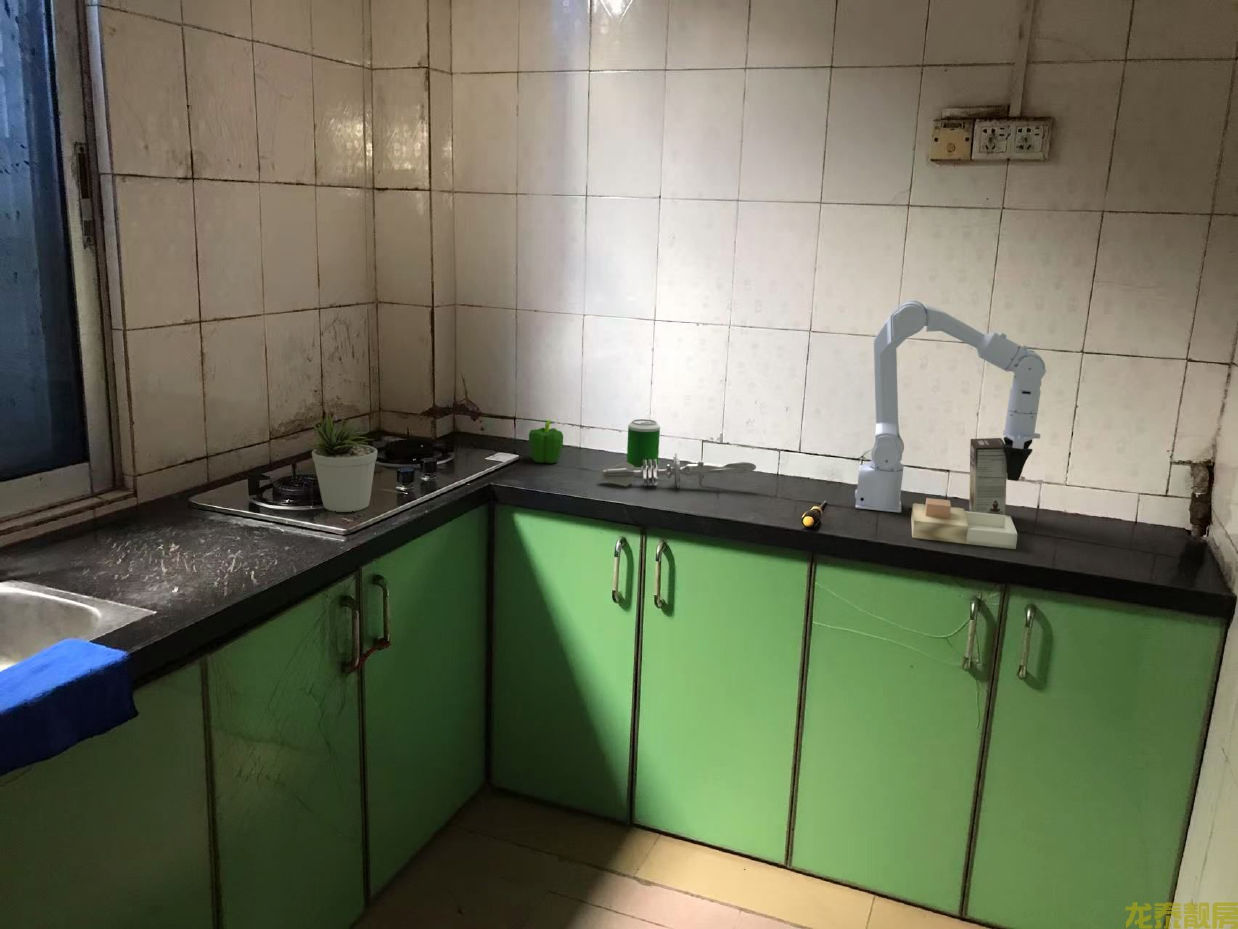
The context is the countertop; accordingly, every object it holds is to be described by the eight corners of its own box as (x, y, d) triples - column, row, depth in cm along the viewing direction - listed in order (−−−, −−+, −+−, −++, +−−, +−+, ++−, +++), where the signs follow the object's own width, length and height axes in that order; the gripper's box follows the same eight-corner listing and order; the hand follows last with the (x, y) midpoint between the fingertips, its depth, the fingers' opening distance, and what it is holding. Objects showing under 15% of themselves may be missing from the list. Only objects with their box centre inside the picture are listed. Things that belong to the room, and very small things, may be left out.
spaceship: (757, 462, 215) (754, 442, 221) (598, 471, 217) (599, 450, 223) (757, 491, 219) (754, 470, 226) (601, 499, 222) (602, 478, 228)
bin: (966, 543, 190) (967, 528, 189) (961, 524, 202) (963, 510, 201) (1015, 549, 188) (1017, 534, 187) (1008, 529, 200) (1010, 515, 199)
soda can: (658, 475, 233) (660, 425, 230) (626, 473, 233) (628, 424, 230) (657, 467, 240) (659, 419, 237) (626, 466, 240) (628, 417, 237)
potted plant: (327, 495, 206) (324, 401, 201) (389, 501, 203) (387, 406, 198) (296, 511, 194) (292, 412, 189) (361, 518, 191) (358, 417, 186)
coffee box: (968, 510, 213) (969, 437, 209) (999, 510, 212) (1001, 437, 208) (974, 522, 204) (975, 447, 201) (1006, 522, 203) (1008, 446, 199)
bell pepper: (549, 467, 236) (550, 426, 233) (522, 462, 240) (522, 421, 238) (569, 461, 242) (570, 421, 240) (543, 456, 247) (544, 417, 244)
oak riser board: (912, 537, 192) (914, 520, 192) (911, 519, 205) (912, 503, 204) (966, 543, 190) (968, 526, 189) (961, 524, 202) (963, 508, 201)
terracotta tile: (925, 515, 195) (927, 503, 194) (924, 509, 199) (926, 498, 199) (949, 518, 194) (950, 506, 193) (948, 512, 198) (949, 500, 198)
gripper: (1044, 419, 192) (1034, 486, 195) (1043, 407, 205) (1033, 470, 208) (1005, 415, 194) (996, 481, 198) (1006, 404, 208) (998, 466, 211)
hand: (1013, 475), depth 203 cm, fingers open, 7 cm apart
